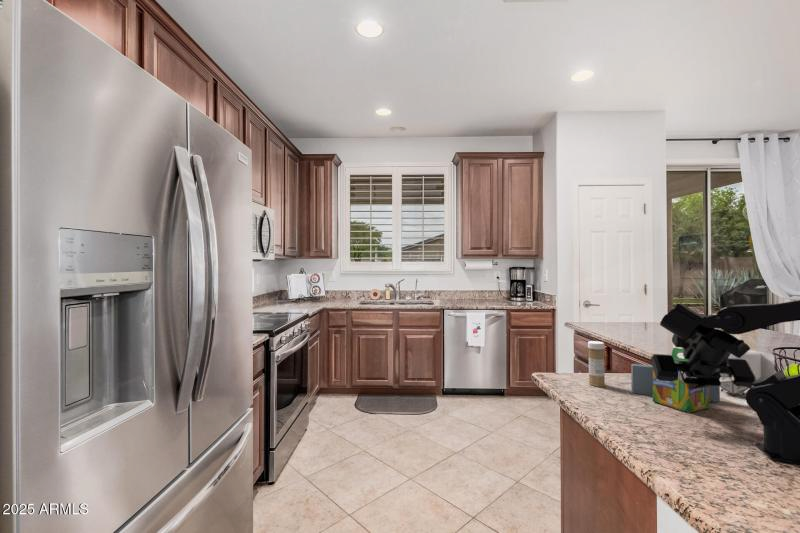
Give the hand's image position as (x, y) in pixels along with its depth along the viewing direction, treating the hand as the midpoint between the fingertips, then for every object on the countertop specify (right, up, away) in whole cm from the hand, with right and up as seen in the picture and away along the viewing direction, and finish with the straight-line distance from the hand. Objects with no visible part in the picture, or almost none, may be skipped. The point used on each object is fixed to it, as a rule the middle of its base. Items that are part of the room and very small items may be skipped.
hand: (689, 387), depth 91 cm
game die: (+23, -7, +14) cm, 28 cm away
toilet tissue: (+36, -7, +25) cm, 44 cm away
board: (+5, -7, +12) cm, 15 cm away
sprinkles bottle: (-11, -7, +23) cm, 26 cm away
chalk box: (+2, -7, +6) cm, 9 cm away
